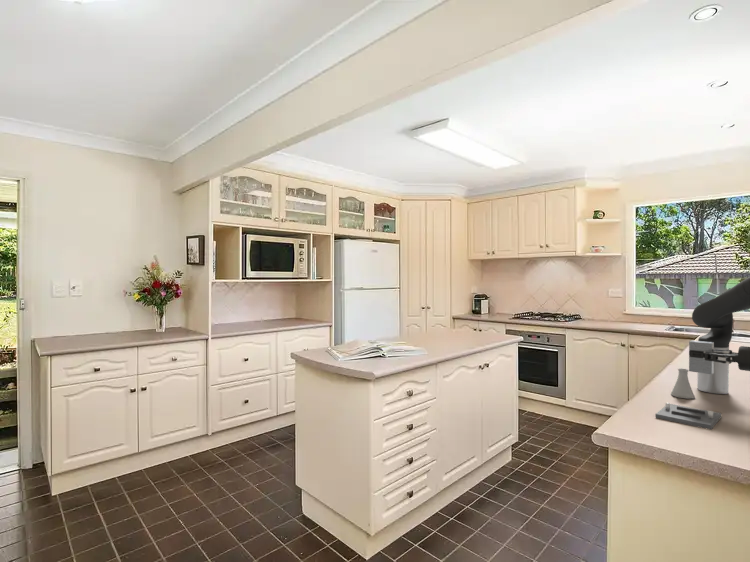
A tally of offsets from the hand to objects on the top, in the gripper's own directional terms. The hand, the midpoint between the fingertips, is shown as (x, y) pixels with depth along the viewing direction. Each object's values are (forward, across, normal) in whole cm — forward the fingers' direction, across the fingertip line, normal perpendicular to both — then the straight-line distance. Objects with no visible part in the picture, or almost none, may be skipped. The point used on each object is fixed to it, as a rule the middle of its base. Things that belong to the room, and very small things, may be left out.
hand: (690, 352), depth 143 cm
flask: (+4, -12, +18) cm, 22 cm away
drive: (-3, 0, +6) cm, 7 cm away
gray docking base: (-2, +15, +18) cm, 24 cm away
